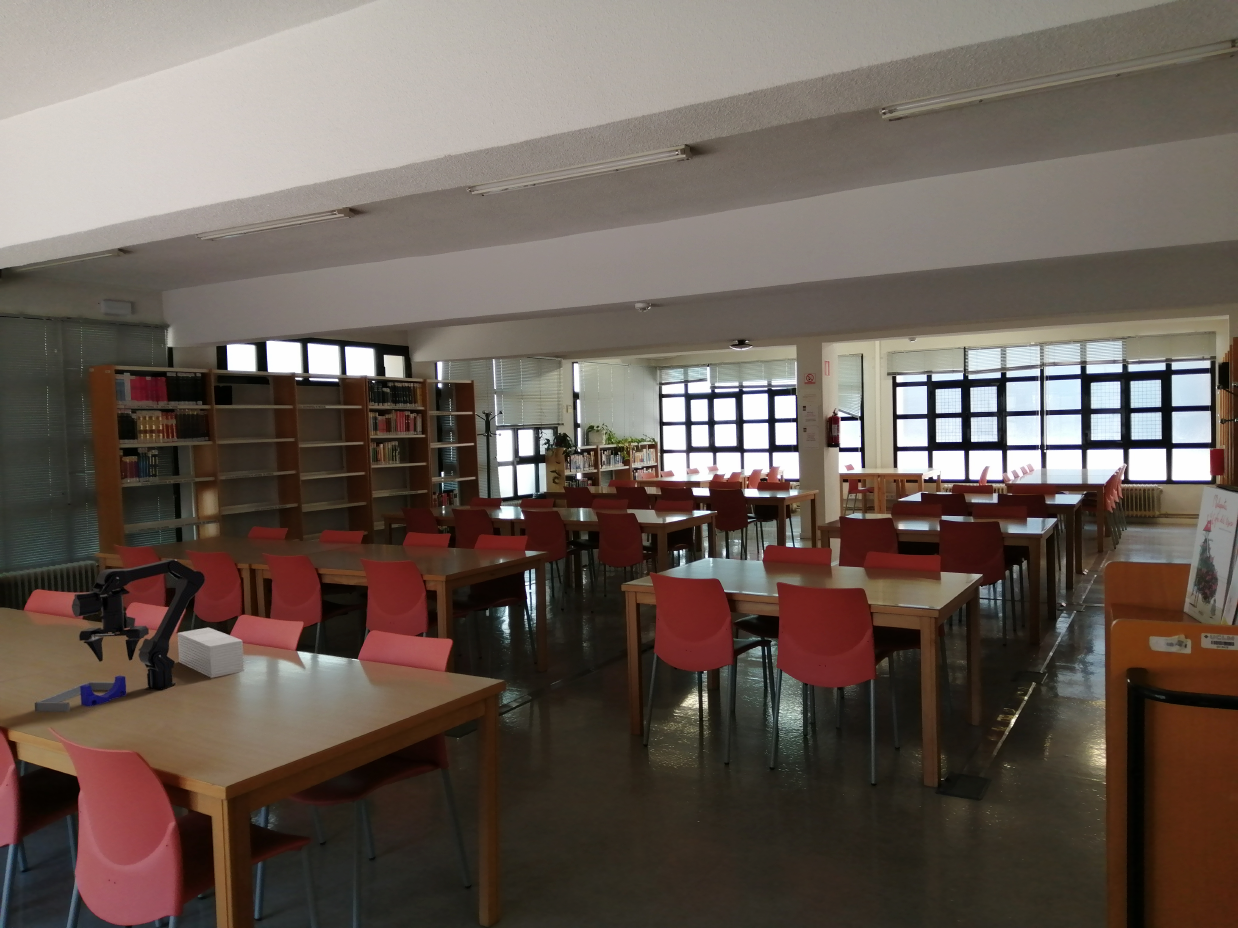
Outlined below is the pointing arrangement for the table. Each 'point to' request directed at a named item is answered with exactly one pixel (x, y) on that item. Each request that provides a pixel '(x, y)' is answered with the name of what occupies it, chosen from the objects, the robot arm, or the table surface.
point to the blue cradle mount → (92, 699)
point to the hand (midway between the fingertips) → (115, 660)
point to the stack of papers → (211, 652)
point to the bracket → (67, 697)
